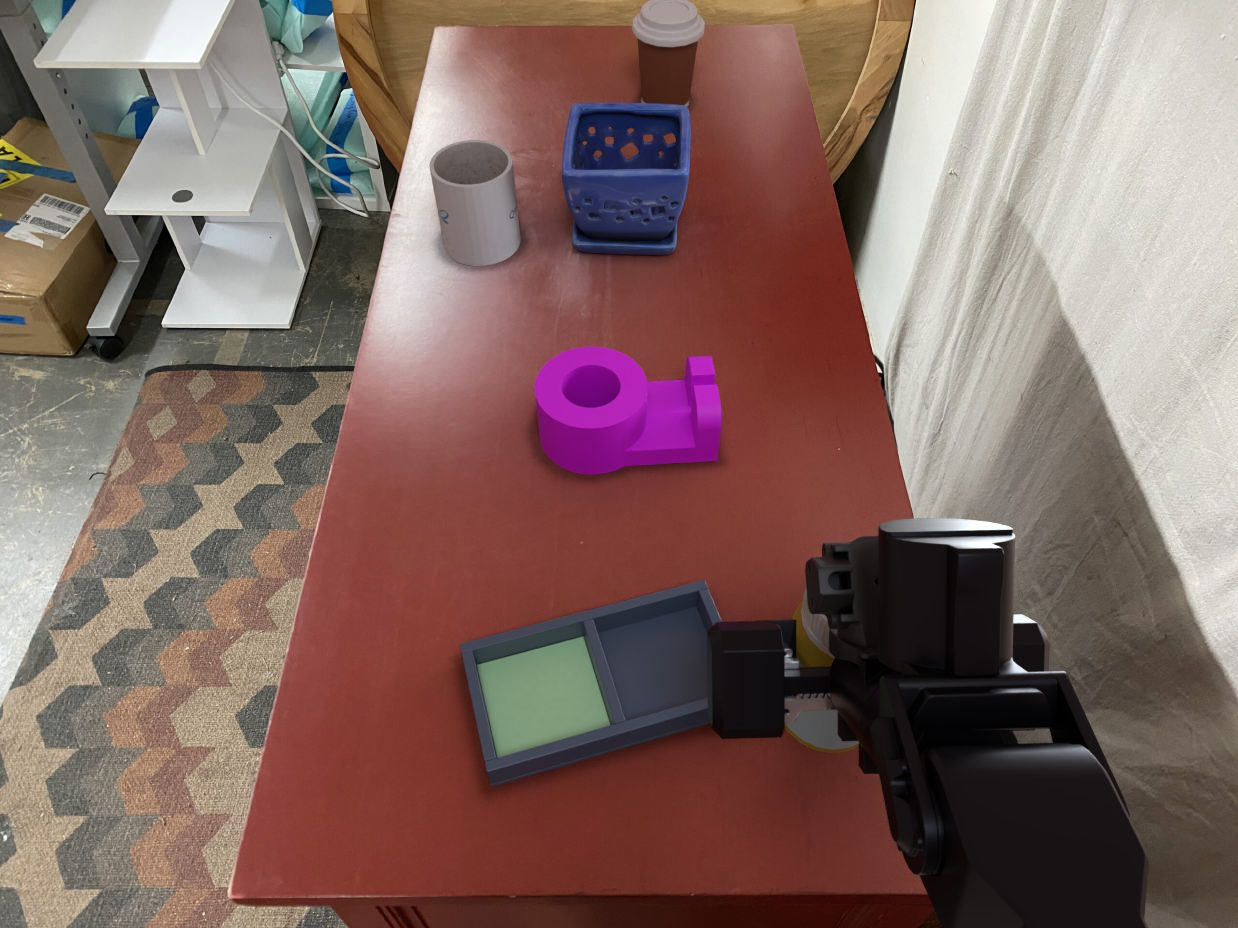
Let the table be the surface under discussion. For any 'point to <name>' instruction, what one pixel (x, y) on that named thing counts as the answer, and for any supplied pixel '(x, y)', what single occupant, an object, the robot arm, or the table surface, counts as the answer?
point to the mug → (476, 201)
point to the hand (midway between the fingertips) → (836, 634)
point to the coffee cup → (667, 49)
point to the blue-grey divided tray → (591, 681)
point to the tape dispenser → (624, 412)
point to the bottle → (815, 725)
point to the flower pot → (626, 176)
